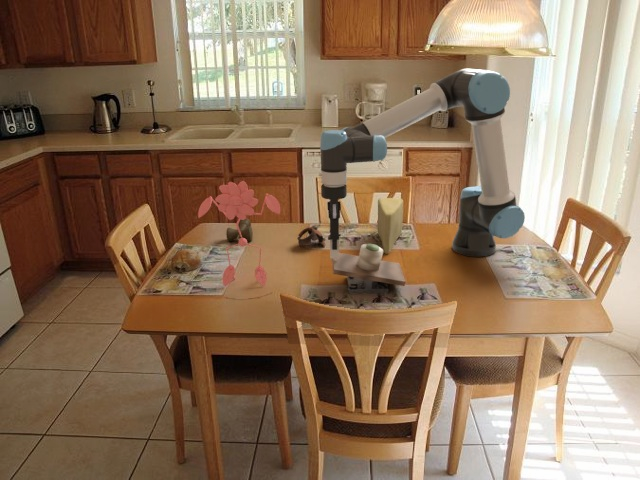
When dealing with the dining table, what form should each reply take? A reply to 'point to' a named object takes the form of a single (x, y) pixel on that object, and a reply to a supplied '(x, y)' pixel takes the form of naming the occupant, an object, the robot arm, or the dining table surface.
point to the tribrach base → (366, 286)
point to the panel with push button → (369, 266)
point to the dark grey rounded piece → (244, 229)
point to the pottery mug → (310, 236)
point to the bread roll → (185, 260)
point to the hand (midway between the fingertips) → (334, 257)
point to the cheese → (389, 221)
